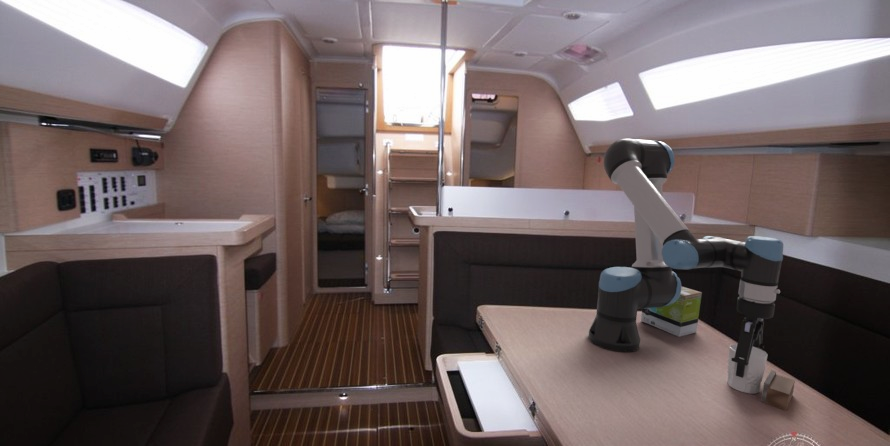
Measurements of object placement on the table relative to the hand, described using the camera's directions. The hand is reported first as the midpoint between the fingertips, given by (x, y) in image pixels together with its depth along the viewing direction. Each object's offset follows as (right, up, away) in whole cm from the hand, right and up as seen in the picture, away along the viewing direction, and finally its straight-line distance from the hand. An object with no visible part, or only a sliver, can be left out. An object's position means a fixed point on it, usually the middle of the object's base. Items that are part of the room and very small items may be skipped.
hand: (744, 378), depth 108 cm
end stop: (+4, -3, -4) cm, 7 cm away
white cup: (0, -2, 0) cm, 2 cm away
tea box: (+2, +3, +40) cm, 40 cm away
